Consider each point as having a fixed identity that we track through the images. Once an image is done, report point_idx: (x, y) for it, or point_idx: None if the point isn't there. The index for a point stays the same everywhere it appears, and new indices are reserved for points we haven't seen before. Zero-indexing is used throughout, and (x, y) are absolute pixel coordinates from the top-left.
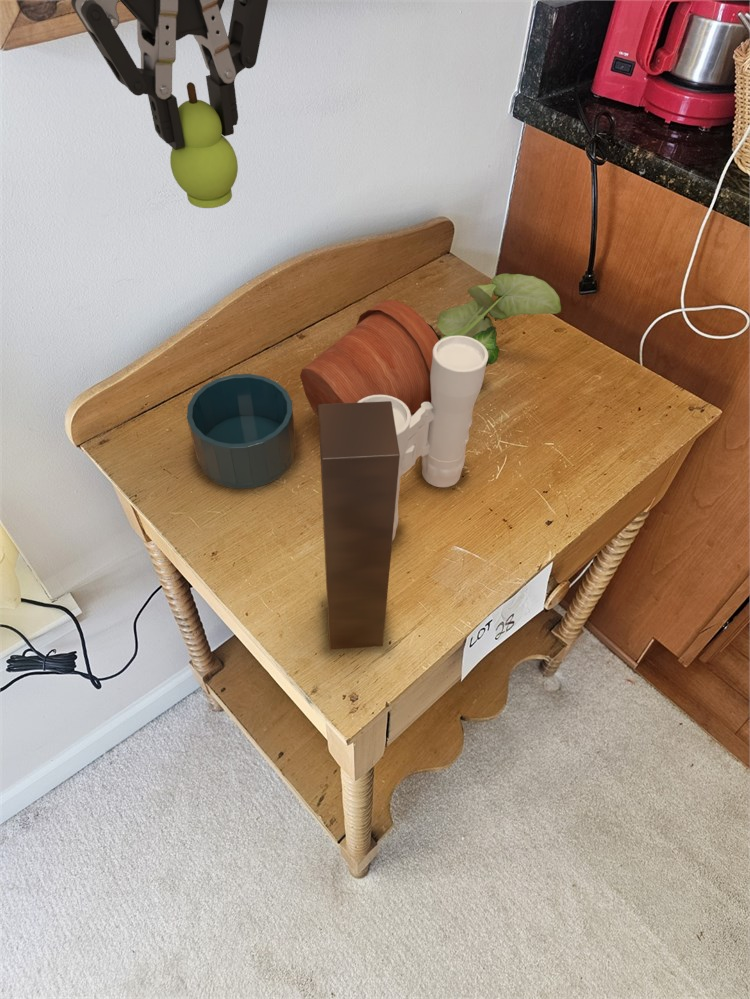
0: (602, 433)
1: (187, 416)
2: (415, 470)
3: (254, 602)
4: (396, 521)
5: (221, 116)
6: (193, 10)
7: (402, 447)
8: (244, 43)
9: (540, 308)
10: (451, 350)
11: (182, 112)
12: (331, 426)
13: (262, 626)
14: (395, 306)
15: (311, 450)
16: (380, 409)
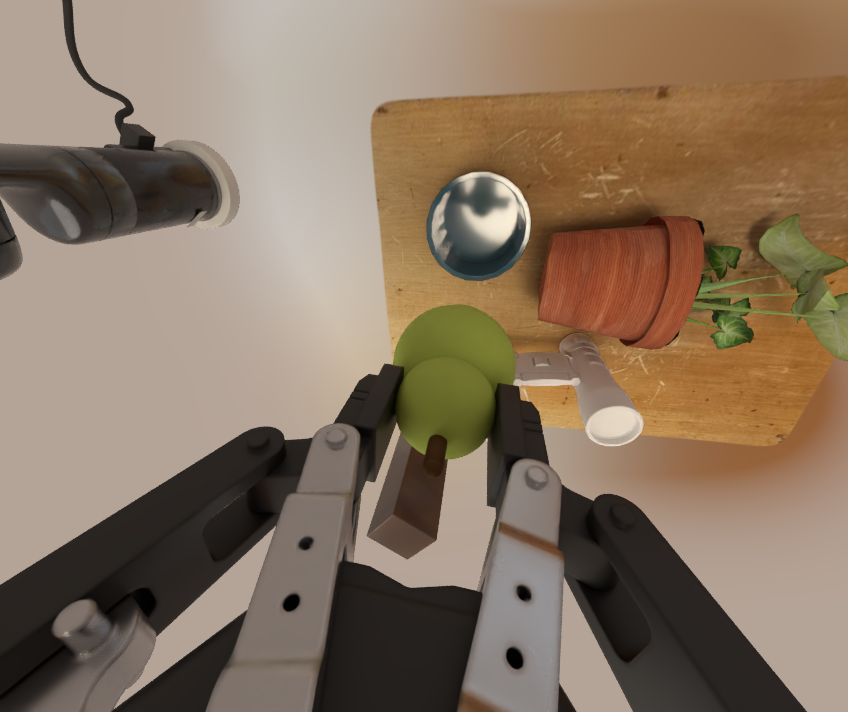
0: (701, 403)
1: (432, 203)
2: (563, 332)
3: (400, 335)
4: None
5: (489, 442)
6: None
7: None
8: (587, 618)
9: (830, 346)
10: (617, 413)
11: (405, 433)
12: (387, 528)
13: (395, 349)
14: (685, 290)
15: (521, 259)
16: (424, 539)
